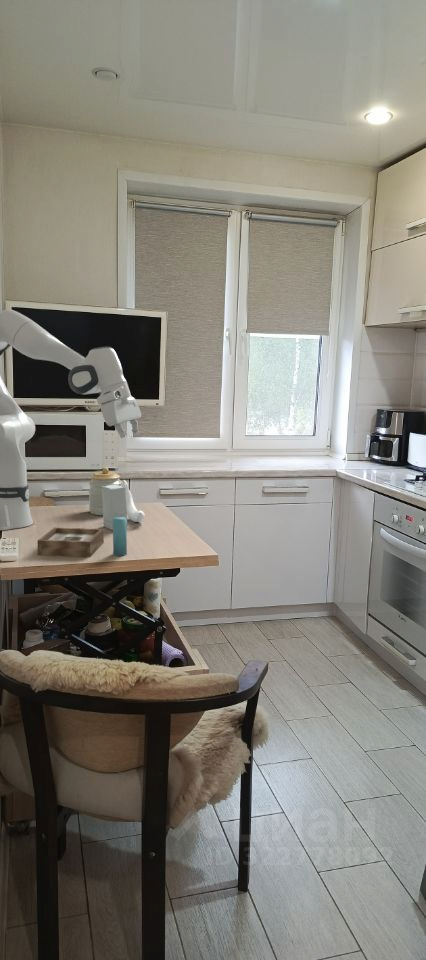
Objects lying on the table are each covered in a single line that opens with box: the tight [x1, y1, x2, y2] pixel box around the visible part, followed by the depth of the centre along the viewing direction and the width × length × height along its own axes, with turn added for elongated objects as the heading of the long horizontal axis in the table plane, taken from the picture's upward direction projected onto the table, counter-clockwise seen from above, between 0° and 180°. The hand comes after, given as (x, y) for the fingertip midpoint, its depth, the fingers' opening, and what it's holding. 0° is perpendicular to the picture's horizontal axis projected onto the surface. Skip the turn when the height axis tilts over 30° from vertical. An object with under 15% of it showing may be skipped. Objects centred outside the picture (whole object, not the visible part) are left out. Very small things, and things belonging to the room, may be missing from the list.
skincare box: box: [102, 485, 128, 531], centre depth 226 cm, size 8×6×15 cm
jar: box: [88, 466, 123, 516], centre depth 250 cm, size 13×13×18 cm
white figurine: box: [122, 479, 146, 523], centre depth 235 cm, size 5×19×15 cm, turn 29°
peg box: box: [37, 527, 105, 558], centre depth 199 cm, size 16×16×4 cm
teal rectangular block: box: [112, 517, 128, 557], centre depth 194 cm, size 4×4×11 cm
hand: (130, 435), depth 211 cm, fingers open, 8 cm apart
